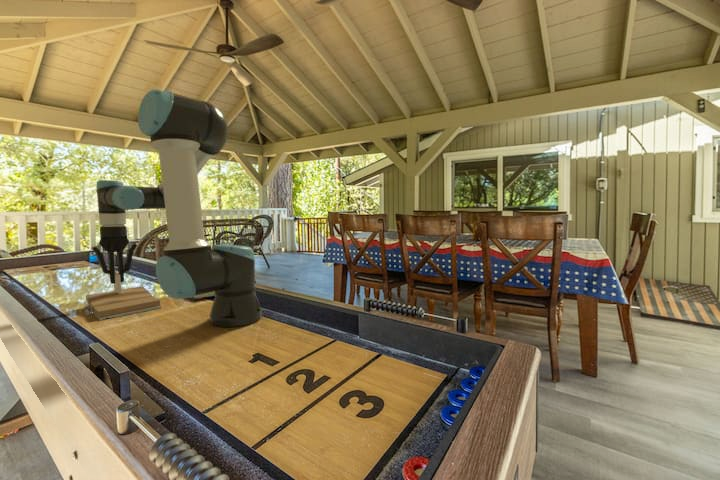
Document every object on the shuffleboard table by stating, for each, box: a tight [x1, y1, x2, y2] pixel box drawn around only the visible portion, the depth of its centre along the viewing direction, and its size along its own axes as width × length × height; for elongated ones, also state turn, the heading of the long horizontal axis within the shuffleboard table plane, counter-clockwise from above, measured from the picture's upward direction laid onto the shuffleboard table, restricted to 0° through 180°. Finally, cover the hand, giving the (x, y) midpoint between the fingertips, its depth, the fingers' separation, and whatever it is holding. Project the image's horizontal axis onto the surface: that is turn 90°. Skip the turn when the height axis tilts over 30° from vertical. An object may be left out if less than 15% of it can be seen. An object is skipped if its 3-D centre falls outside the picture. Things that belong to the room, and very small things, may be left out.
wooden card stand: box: [85, 295, 162, 321], centre depth 116 cm, size 21×17×3 cm
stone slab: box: [187, 291, 215, 302], centre depth 136 cm, size 10×3×30 cm
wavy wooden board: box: [85, 285, 153, 312], centre depth 119 cm, size 11×17×2 cm, turn 138°
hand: (117, 291), depth 120 cm, fingers closed
